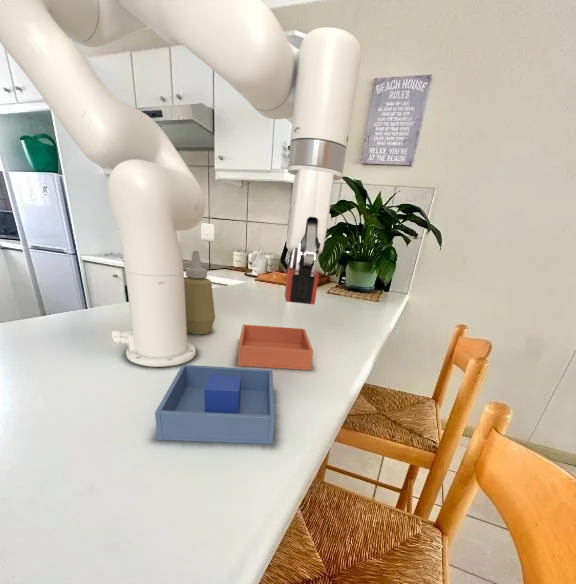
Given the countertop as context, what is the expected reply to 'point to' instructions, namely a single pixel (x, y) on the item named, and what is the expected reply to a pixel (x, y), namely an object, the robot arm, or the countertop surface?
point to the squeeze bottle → (198, 298)
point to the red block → (289, 285)
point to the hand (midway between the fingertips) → (299, 297)
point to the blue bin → (217, 426)
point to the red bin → (274, 347)
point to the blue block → (223, 394)
